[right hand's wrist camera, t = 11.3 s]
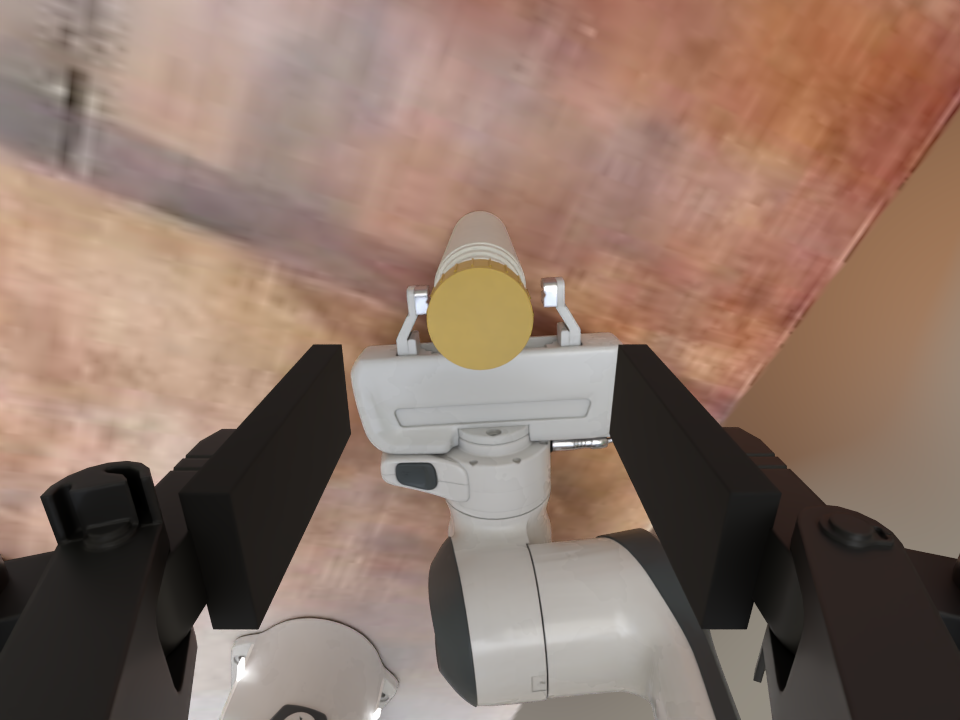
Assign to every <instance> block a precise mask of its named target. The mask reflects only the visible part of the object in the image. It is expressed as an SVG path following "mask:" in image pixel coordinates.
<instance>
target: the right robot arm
mask: <svg viewBox="0 0 960 720" xmlns="http://www.w3.org/2000/svg"><path fill="white" fill-rule="evenodd" d="M350 435H351V429H350V420H349V410H348V401H347V391H346V382H345V372H344V363H343V353H342V345H312V347H311V348H310V349H309V350H308V351H307V352H306V353H305V354H304V355H303V356H302V358H301V359H300V360H299V361H298V362H297V363H296V364H295V365H294V366H293V367H292V369H291V370H290V371H289V372H288V373H287V374H286V375H285V376H284V377H283V378H282V380H281V381H280V382H279V383H278V384H277V385H276V386H275V387H274V388H273V389H272V390H271V392H270V393H269V394H268V395H267V396H266V397H265V398H264V399H263V400H262V401H261V403H260V404H259V405H258V406H257V407H256V408H255V409H254V410H253V411H252V412H251V414H250V415H249V416H248V417H247V418H246V419H245V420H244V421H243V422H242V423H241V425H240V426H239V427H238V428H237V429H221V430H219V431H218V432H216V433H214V434H212V435H210V436H209V437H207V438H205V439H203V440H201V441H200V442H199V443H198V444H197V445H196V446H195V447H194V448H193V449H192V450H191V451H190V452H189V453H188V454H187V455H186V458H185V459H182V460H181V461H180V462H179V463H178V464H177V465H176V466H175V467H174V470H173V471H170V472H169V473H168V474H167V475H166V476H165V477H164V478H163V479H162V480H161V481H160V482H159V483H158V484H157V485H156V486H155V487H154V483H153V480H152V476H151V473H150V469H149V468H148V467H147V466H145V465H144V464H142V463H138V462H131V461H122V462H111V463H105V464H101V465H97V466H93V467H89V468H86V469H84V470H81V471H79V472H76V473H74V474H71V475H69V476H67V477H65V478H64V479H62V480H60V481H59V482H57V483H55V484H54V485H52V486H51V487H49V488H48V489H47V490H46V491H45V492H44V493H43V494H42V495H41V496H40V498H41V501H42V503H43V506H44V509H45V511H46V514H47V517H48V519H49V522H50V525H51V527H52V530H53V532H54V535H55V538H56V540H57V543H58V545H57V547H56V549H55V551H52V552H47V553H42V554H37V555H32V556H27V557H22V558H17V559H12V560H7V561H3V559H2V557H1V555H0V720H188V714H189V707H190V699H191V691H192V684H193V676H194V669H195V661H196V654H197V641H196V635H195V632H194V628H193V625H194V623H195V621H196V620H197V618H198V616H199V615H200V613H201V612H202V610H203V608H204V607H205V605H206V604H207V607H208V611H209V615H210V619H211V623H212V627H213V629H259V627H260V625H261V623H262V621H263V619H264V616H265V614H266V612H267V610H268V608H269V606H270V604H271V602H272V600H273V597H274V595H275V593H276V591H277V589H278V587H279V585H280V583H281V581H282V578H283V576H284V574H285V572H286V570H287V568H288V566H289V564H290V562H291V559H292V557H293V555H294V553H295V551H296V549H297V547H298V545H299V543H300V540H301V538H302V536H303V534H304V532H305V530H306V528H307V526H308V524H309V521H310V519H311V517H312V515H313V513H314V511H315V509H316V507H317V505H318V502H319V500H320V498H321V496H322V494H323V492H324V490H325V488H326V486H327V483H328V481H329V479H330V477H331V475H332V473H333V471H334V469H335V467H336V464H337V462H338V460H339V458H340V456H341V454H342V452H343V450H344V448H345V445H346V443H347V441H348V439H349V437H350ZM609 435H610V437H611V439H612V441H613V443H614V445H615V448H616V450H617V452H618V454H619V456H620V458H621V460H622V462H623V464H624V467H625V469H626V471H627V473H628V475H629V477H630V479H631V481H632V483H633V486H634V488H635V490H636V492H637V494H638V496H639V498H640V500H641V502H642V505H643V507H644V509H645V511H646V513H647V515H648V517H649V519H650V521H651V524H652V526H653V528H654V530H655V532H656V534H657V536H658V538H659V540H660V543H661V545H662V547H663V549H664V551H665V553H666V555H667V557H668V559H669V562H670V564H671V566H672V568H673V570H674V572H675V574H676V576H677V578H678V581H679V583H680V585H681V587H682V589H683V591H684V593H685V595H686V597H687V600H688V602H689V604H690V606H691V608H692V610H693V612H694V614H695V616H696V619H697V621H698V623H699V625H700V627H701V629H747V627H748V623H749V619H750V615H751V611H752V607H753V603H754V602H755V604H756V606H757V607H758V609H759V611H760V612H761V614H762V615H763V617H764V618H765V620H766V622H767V623H768V625H767V628H766V632H765V635H764V639H763V643H762V646H761V650H760V654H759V657H758V661H757V664H756V668H755V673H754V681H757V682H760V683H761V681H762V677H763V674H764V671H765V670H766V675H767V682H768V690H769V697H770V705H771V712H772V720H960V555H959V557H958V559H955V558H950V557H945V556H940V555H935V554H930V553H925V552H920V551H915V550H910V549H906V548H904V546H903V544H902V543H901V542H900V541H899V539H898V538H897V537H896V536H895V535H894V533H893V532H891V531H890V530H889V529H887V528H886V527H884V526H883V525H882V524H880V523H879V522H877V521H876V520H873V519H871V518H869V517H867V516H865V515H863V514H861V513H858V512H856V511H852V510H849V509H845V508H842V507H838V506H830V505H826V504H825V503H824V502H823V501H822V500H821V499H820V498H819V497H818V496H817V495H816V494H815V493H814V492H813V491H812V490H811V489H810V488H809V487H808V486H807V485H806V484H805V483H804V482H803V481H802V480H801V479H800V478H799V477H798V476H797V475H796V474H795V473H794V472H792V471H791V470H790V469H787V466H786V465H785V464H784V463H783V462H782V461H781V460H780V459H779V458H778V457H775V454H774V453H773V452H772V451H771V450H770V449H769V448H768V447H767V446H766V445H765V444H764V443H763V442H762V441H761V440H760V439H758V438H757V437H755V436H753V435H751V434H749V433H748V432H746V431H744V430H742V429H741V428H739V427H721V426H720V425H719V423H718V422H717V421H716V420H715V419H714V418H713V417H712V416H711V415H710V414H709V412H708V411H707V410H706V409H705V408H704V407H703V406H702V405H701V404H700V403H699V401H698V400H697V399H696V398H695V397H694V396H693V395H692V394H691V393H690V392H689V391H688V389H687V388H686V387H685V386H684V385H683V384H682V383H681V382H680V381H679V380H678V378H677V377H676V376H675V375H674V374H673V373H672V372H671V371H670V370H669V369H668V367H667V366H666V365H665V364H664V363H663V362H662V361H661V360H660V359H659V358H658V356H657V355H656V354H655V353H654V352H653V351H652V350H651V349H650V348H649V347H648V345H618V353H617V363H616V372H615V382H614V391H613V401H612V410H611V420H610V429H609Z"/></svg>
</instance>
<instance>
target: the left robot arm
mask: <svg viewBox="0 0 960 720" xmlns="http://www.w3.org/2000/svg"><path fill="white" fill-rule="evenodd" d="M541 287H542V289H543V290H542V291H541V301H542V303H543V306H544V307H556V309H557V311H558V312H559V314H560V315H561V317H562V319H563V320H564V322H565V323H564V322H558V323H557V335H551V336H533V337H530V338H529V340H528V342H527V344H526V346H525V347H524V349H523V350H522V351H521V352H520V353H519V354H518V355H517V356H516V357H515V358H514V359H513V360H511V361H510V362H508V363H506V364H504V365H502V366H500V367H497V368H493V369H488V370H472V369H467V368H463V367H460V366H458V365H456V364H454V363H452V362H450V361H449V360H448V359H446V358H445V357H444V356H443V355H442V354H441V353H440V352H439V351H438V350H437V348H436V347H435V346H434V344H433V342H429V343H420V337H419V331H418V330H413V331H412V332H411V330H412V327H413V325H414V323H415V321H416V319H417V317H418V315H424V314H427V313H426V311H427V308H428V305H429V302H430V299H431V298H430V297H429V295H430V287H429V285H418V286H409V287H408V288H407V303H408V312H409V313H408V315H407V317H406V319H405V322H404V324H403V326H402V328H401V330H400V333H399V335H398V337H397V339H396V343H397V344H394V345H376V346H368V347H366V348H365V349H364V350H363V351H362V353H361V354H360V355H359V356H358V358H357V359H356V361H355V362H354V364H353V366H352V369H351V382H352V387H353V392H354V397H355V401H356V405H357V409H358V412H359V416H360V419H361V422H362V425H363V428H364V430H365V433H366V435H367V437H368V439H369V440H370V442H371V443H372V444H373V445H374V446H375V447H376V448H377V449H379V450H381V451H383V452H382V457H381V475H382V478H383V480H384V481H385V482H387V483H389V484H392V485H395V486H400V487H405V488H409V489H414V490H418V491H422V492H426V493H430V494H433V495H437V496H440V497H443V498H445V500H446V503H447V505H448V507H449V509H450V513H451V517H450V521H449V526H448V538H447V539H446V541H445V542H444V543H443V545H442V546H441V548H440V549H439V551H438V553H437V555H436V556H435V558H434V560H433V562H432V563H431V567H430V572H429V582H428V588H429V602H430V609H431V615H432V621H433V626H434V632H435V646H436V656H437V663H438V668H439V671H440V672H441V674H442V675H443V676H444V678H445V679H446V680H447V682H448V683H449V684H450V685H451V686H452V687H453V689H454V690H455V691H456V692H457V693H458V694H459V695H460V696H461V697H462V698H463V699H464V700H466V701H467V702H468V703H470V704H471V705H473V706H475V707H477V706H498V705H509V704H519V703H528V702H537V701H545V700H546V699H550V698H559V697H568V696H577V695H587V694H596V693H605V692H627V693H632V694H635V695H638V696H640V697H642V698H644V699H646V700H647V701H648V702H649V703H650V704H651V705H652V709H653V713H654V718H655V720H741V719H740V716H739V713H738V711H737V708H736V705H735V703H734V700H733V697H732V695H731V692H730V689H729V687H728V684H727V681H726V679H725V676H724V673H723V671H722V668H721V665H720V662H719V659H718V657H717V654H716V651H715V648H714V644H713V641H712V637H711V633H710V629H701V627H700V625H699V623H698V621H697V619H696V616H695V614H694V612H693V610H692V608H691V606H690V604H689V602H688V600H687V597H686V595H685V593H684V591H683V589H682V587H681V585H680V583H679V581H678V578H677V576H676V574H675V572H674V570H673V568H672V566H671V564H670V562H669V559H668V557H667V555H666V553H665V551H664V549H663V547H662V545H661V543H660V540H659V538H658V537H657V536H655V535H653V534H652V533H650V532H648V531H646V530H644V529H641V528H638V529H632V530H627V531H622V532H617V533H611V534H606V535H601V536H597V537H596V538H590V539H580V540H570V541H560V542H552V531H551V523H550V519H549V516H548V514H547V510H546V507H547V503H548V501H549V497H550V493H551V455H550V453H551V452H552V451H568V450H574V449H575V450H576V449H581V448H591V449H601V448H605V447H607V446H608V443H611V442H613V441H612V439H611V437H610V435H609V429H610V420H611V410H612V401H613V391H614V382H615V372H616V363H617V353H618V345H624V344H623V343H622V342H621V341H620V340H619V339H618V338H617V337H616V336H615V335H614V334H612V333H610V332H603V333H586V334H581V329H580V328H579V326H578V324H577V322H576V321H575V319H574V317H573V316H572V314H571V313H570V311H569V309H568V308H567V306H566V304H565V284H564V279H563V278H562V277H550V278H541ZM607 437H610V438H607ZM397 687H398V681H397V679H396V678H395V677H394V676H393V675H392V674H391V673H390V672H389V671H388V670H387V669H386V668H385V667H384V666H383V664H382V662H381V659H380V657H379V655H378V653H377V651H376V649H375V648H374V646H373V645H372V644H371V643H370V642H369V641H368V640H367V639H366V638H365V637H364V636H363V635H361V634H360V633H359V632H357V631H355V630H354V629H352V628H350V627H348V626H346V625H343V624H340V623H337V622H334V621H330V620H325V619H317V618H301V619H294V620H289V621H285V622H282V623H280V624H277V625H275V626H273V627H272V628H270V629H268V630H267V631H265V632H263V633H260V634H254V635H248V636H243V637H240V638H238V639H236V640H235V642H234V645H233V648H232V651H231V692H230V694H229V697H228V699H227V701H226V704H225V706H224V708H223V710H222V713H221V716H220V719H219V720H377V719H378V718H379V716H380V712H381V710H382V709H383V708H384V707H385V706H386V704H387V703H388V702H389V701H390V700H391V698H392V697H393V696H394V695H395V693H396V690H397Z"/></svg>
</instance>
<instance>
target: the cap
mask: <svg viewBox="0 0 960 720" xmlns="http://www.w3.org/2000/svg"><path fill="white" fill-rule="evenodd" d="M430 297H431V299H430V302H429V305H428V308H427V311H426V313H427V328H428V332H429V335H430V338H431V340H432V342H433V344H434V346H435V347H436V348H437V350H438V351H439V352H440V353H441V354H442V355H443V356H444V357H445V358H446V359H448V360H449V361H450V362H452V363H454V364H456V365H458V366H460V367H463V368H467V369H472V370H488V369H493V368H497V367H500V366H502V365H504V364H506V363H508V362H510V361H511V360H513V359H514V358H515V357H516V356H517V355H518V354H519V353H520V352H521V351H522V350H523V349H524V347H525V346H526V344H527V342H528V340H529V338H530V335H531V333H532V328H533V316H534V313H533V309H532V305H531V302H530V299H531V297H530V295H529V292H528V289H526V288H525V286H524V284H523V283H522V281H521V279H520V276H519V275H518V276H517V275H516V274H515V273H514V272H513V271H512V270H511V269H509V268H508V267H507V265H506V264H505V265H503V264H501V263H499V262H496V261H492V260H491V259H489V260H487V259H474V258H472V260H468V261H465V262H462V263H459V264H457V263H456V264H455V266H454V267H452V268H451V269H449V270H448V271H447V272H446V273H445V274H444V273H443V274H442V276H441V278H440V280H439V281H438V283H437V284H436V286H435V287H433V290H432V292H431V295H430Z"/></svg>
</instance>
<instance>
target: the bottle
mask: <svg viewBox="0 0 960 720" xmlns="http://www.w3.org/2000/svg"><path fill="white" fill-rule="evenodd" d="M472 258H474V259H487V260H489V259H491V260H492V261H496V262H499V263H501V264H503V265H505V264H506V265H507V267H508V268H509V269H511V270H512V271H513V272H514V273H515V274H516V275H517V276H518V275H519V276H520V279H521V281H522V283H523V284H524V286H525V288H526V281H525V276H524V273H523V270H522V267H521V265H520V262H519V260H518V257H517V254H516V252H515V249H514V247H513V244H512V242H511V239H510V237H509V234H508V232H507V229H506V227H505V225H504V224H503V222H502V221H501V220H500V219H499V218H498V217H497V216H495V215H494V214H492V213H489V212H485V211H475V212H471V213H468V214H467V215H465V216H463V217H462V218H461V219H460V220H459V221H458V222H457V224H456V225H455V227H454V229H453V232H452V234H451V237H450V239H449V242H448V244H447V247H446V249H445V252H444V255H443V257H442V260H441V262H440V265H439V267H438V270H437V273H436V276H435V282H434V287H435V286H436V284H437V283H438V281H439V280H440V278H441V276H442V274H443V273H444V274H445V273H446V272H447V271H448V270H449V269H451V268H452V267H454V266H455V264H456V263H457V264H459V263H462V262H465V261H468V260H472Z"/></svg>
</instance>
